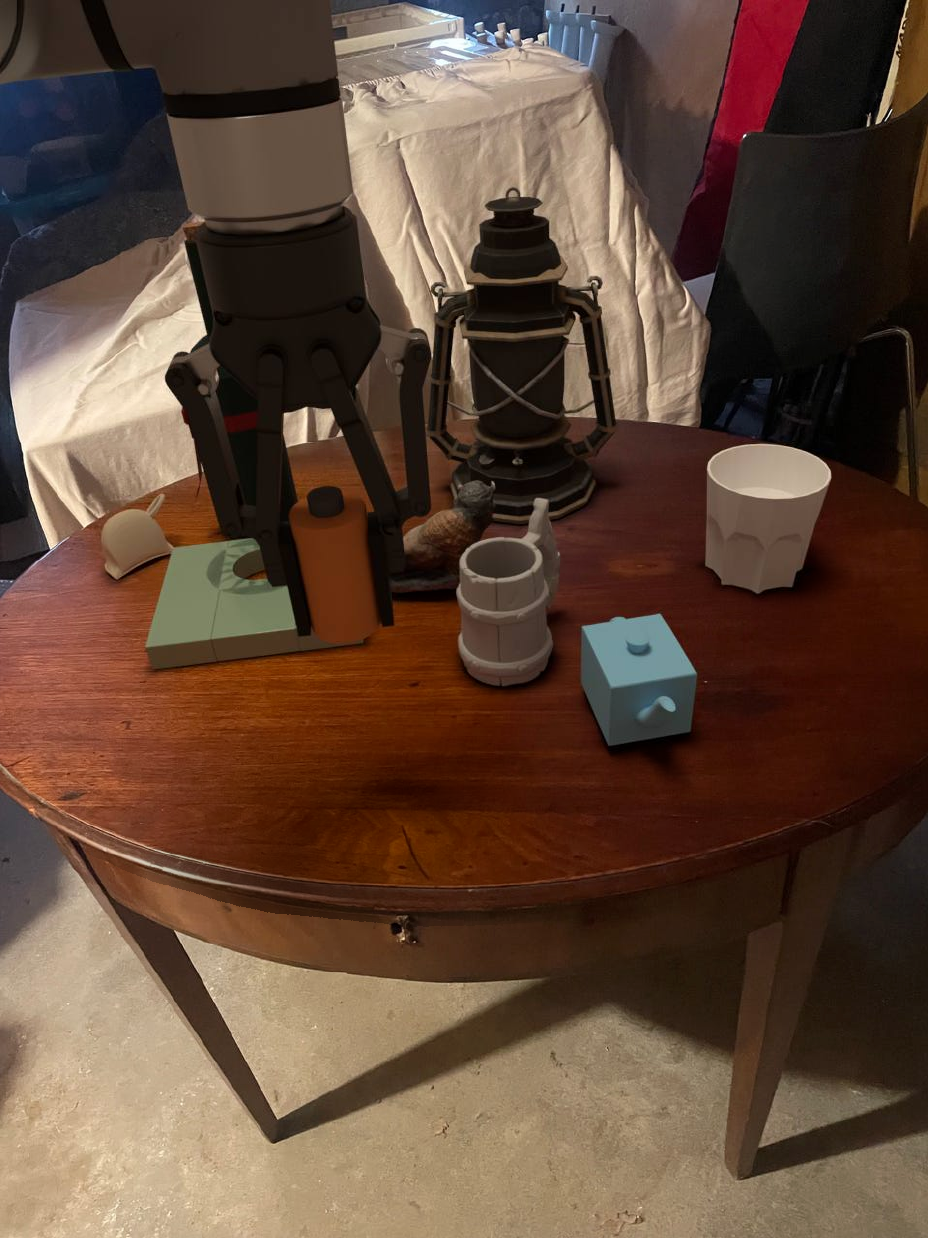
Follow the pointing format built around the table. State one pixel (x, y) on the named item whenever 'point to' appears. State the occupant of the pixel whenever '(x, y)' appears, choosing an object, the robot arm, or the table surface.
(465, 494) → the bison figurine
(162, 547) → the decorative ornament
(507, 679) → the mug
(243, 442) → the wine bottle
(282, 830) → the table surface
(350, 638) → the orange cylinder
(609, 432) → the lantern
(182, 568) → the green peg socket base
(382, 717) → the table surface
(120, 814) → the table surface
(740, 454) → the cup
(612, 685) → the teapot
